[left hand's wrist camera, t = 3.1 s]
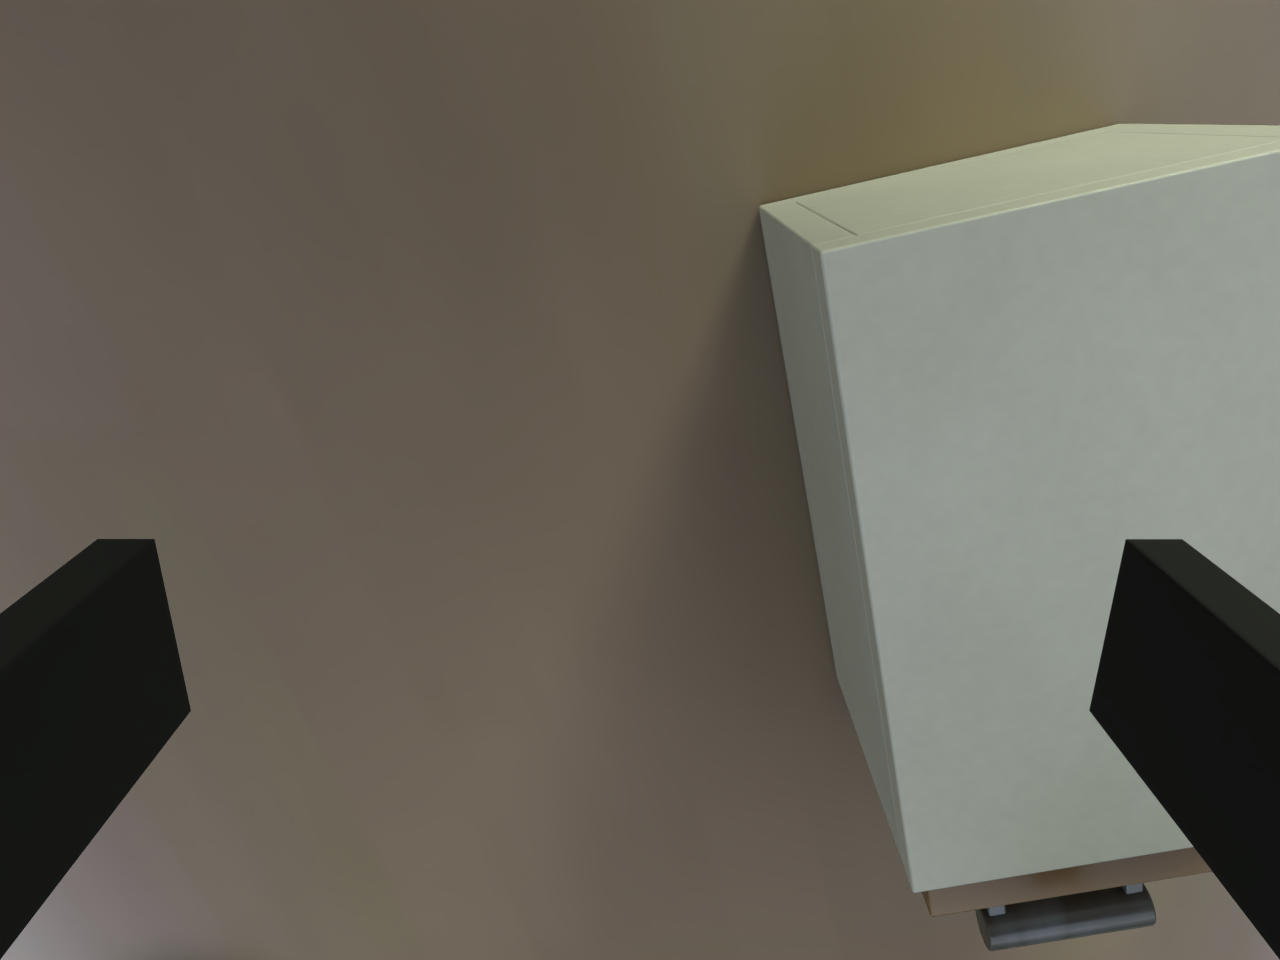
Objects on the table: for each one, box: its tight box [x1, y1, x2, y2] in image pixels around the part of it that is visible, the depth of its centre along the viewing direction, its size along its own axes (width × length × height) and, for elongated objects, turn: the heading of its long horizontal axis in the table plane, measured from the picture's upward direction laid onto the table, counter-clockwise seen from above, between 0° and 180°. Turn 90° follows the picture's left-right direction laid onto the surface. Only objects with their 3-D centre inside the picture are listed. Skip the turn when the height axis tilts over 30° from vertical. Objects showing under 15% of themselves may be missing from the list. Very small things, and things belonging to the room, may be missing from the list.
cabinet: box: [759, 124, 1280, 893], centre depth 28 cm, size 18×12×11 cm, turn 12°
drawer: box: [922, 847, 1212, 951], centre depth 30 cm, size 23×10×9 cm, turn 12°
